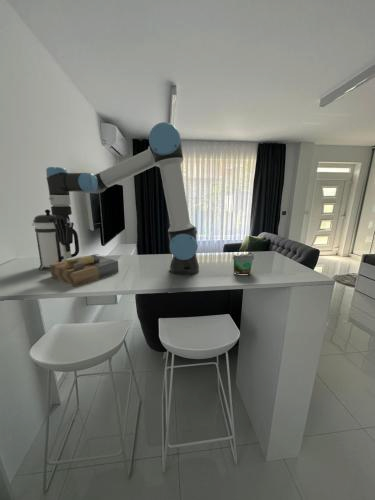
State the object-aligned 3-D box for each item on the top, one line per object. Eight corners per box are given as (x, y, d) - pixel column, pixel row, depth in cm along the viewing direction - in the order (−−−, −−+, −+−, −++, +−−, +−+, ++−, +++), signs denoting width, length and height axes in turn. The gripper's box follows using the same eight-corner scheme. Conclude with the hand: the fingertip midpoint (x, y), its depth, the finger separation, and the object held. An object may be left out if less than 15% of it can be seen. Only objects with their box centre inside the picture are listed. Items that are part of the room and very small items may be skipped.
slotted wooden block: (118, 272, 105) (117, 255, 103) (75, 286, 87) (72, 267, 85) (94, 265, 116) (93, 249, 114) (51, 276, 98) (49, 258, 96)
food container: (240, 278, 101) (242, 258, 98) (231, 274, 106) (233, 255, 103) (257, 273, 107) (259, 254, 105) (248, 270, 112) (250, 252, 110)
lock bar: (97, 260, 103) (97, 253, 102) (101, 261, 101) (100, 255, 100) (64, 266, 92) (63, 259, 91) (67, 268, 90) (66, 261, 89)
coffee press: (45, 274, 101) (36, 210, 94) (33, 267, 110) (24, 209, 103) (81, 265, 114) (75, 209, 107) (68, 260, 124) (61, 208, 117)
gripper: (44, 205, 92) (52, 257, 97) (59, 206, 85) (66, 262, 90) (62, 205, 98) (68, 254, 103) (77, 205, 91) (83, 258, 96)
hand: (67, 258), depth 97 cm, fingers closed
